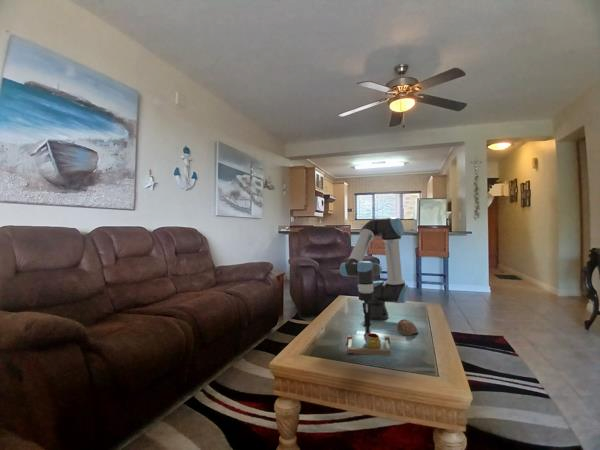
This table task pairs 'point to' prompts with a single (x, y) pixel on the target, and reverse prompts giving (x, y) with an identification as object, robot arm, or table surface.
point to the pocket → (369, 350)
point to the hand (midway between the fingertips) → (368, 338)
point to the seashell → (406, 327)
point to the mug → (372, 341)
